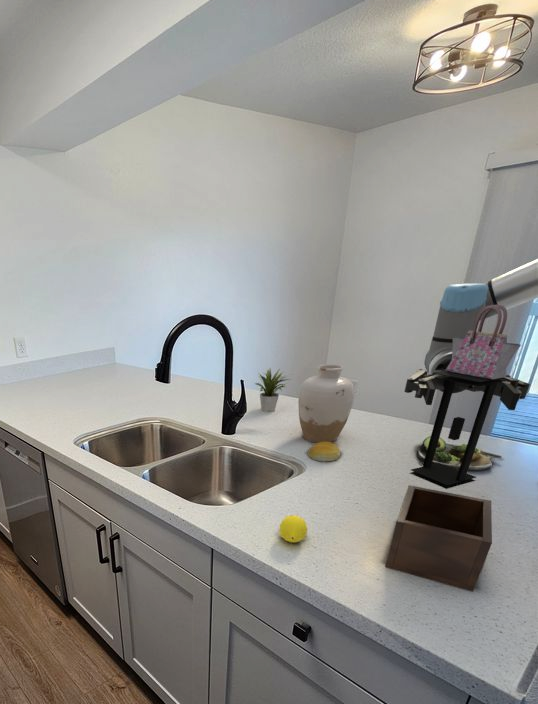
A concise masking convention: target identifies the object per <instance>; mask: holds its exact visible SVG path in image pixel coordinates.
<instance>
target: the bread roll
mask: <svg viewBox="0 0 538 704" xmlns="http://www.w3.org/2000/svg"><path fill="white" fill-rule="evenodd" d="M307 454H308V456H309V458H310V459H312V460H314V461H317V462H325V463H326V462H333V461H337V460H338V459H339V458H340V456H341V450H340V448H339V446H338V445H336V444H335V443H334V442H319V443H317V442H316V443H315V444H314V445H312V447H311V448H310V449H309V450H308V453H307Z"/></svg>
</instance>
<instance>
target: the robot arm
mask: <svg viewBox="0 0 538 704" xmlns="http://www.w3.org/2000/svg"><path fill="white" fill-rule="evenodd" d="M535 299H538V258H537V259H534V260H533V261H529V262H527V263H526V264H523V265H520V266H519V267H517V268H515V269H512V270H510V271H508V272H505V273H504V274H501V275H499V276H496V277H494V278H493V279H490V280H488V281H486V282H482V283H456V284H450V285H447V286H446V287H445V289H444V292H443V294H442V298H441V300H440V301H439V308H438V309H439V310H438V313H437V317H436V323H435V327H434V331H433V336H432V338H431V340H430V341H431V342H430V345H429V349H428V351H427V352H426V353H425V357H424V361H423V362H424V363H423V364H424V366H425V367H424V368H425V369H423V368H418V369H417V370H416V372H415V373H414V374H412V375H411V376H409V377H407V379H406V383H405V387H404V393H406V394H411V393H413V392H415V394H414V398H416V399H422V398H423V399H424V403H425V405H426V406H432V404H433V401H434V398H435V393H436V390H438V391H440V392H442V393H443V391H444V387H445V384H446V380H444V379H439V378H435V377H439V376H444V375H440V374H436V373H440V372H446V369H447V367H448V366H449V364H450V362H451V360H452V350H453V338H456V337H462V338H465V337H466V335H467V333H468V331H473V328H474V325H475V321H476V319H477V317H478V315H479V313H480V312H481V310H482V309H483V308H485V307H487V306H490V305H502V306H504V307H505V308H506V310H507V311H508V310H510V309H513V308H515V307H519V306H521V305H523V304H525V303H528V302H531V301H534V300H535ZM500 310H501V309H500ZM485 312H486V311H485ZM485 312H484V313H485ZM484 313H483V314H482V316H481V318H480V320H479V323H478V326H477V328H479V325H480V322H481V319H482V317H483V315H484ZM501 313H503V311H502V310H501ZM496 315H498V313H497V311H496V310H495V309H492V310H491V311H489V313H488V314H487V316H486V318H485V320H486V319H489V318H491V317H493V316H496ZM502 379H508V380H510V381H505V382H500V383H497V385H496V388H495V391H494V394H493V396H496V397H499V400H500V402H501V403H502V404H503V405H504V407H505V408H506V409H507V410H508V411H515V410H516V407H517V405H518V402H519V401H520V400H524V399H526V397H527V394H528V391H529V389H530V386H531V384H530V383H529V382H526V381H523V380H520V379H519V378H518V379H517V378H516V377H515V378H514V377H513V376H511V377H506V378H502ZM485 388H486V385H484V386H479V387H478V386H473V385H468V384H464V383H459V382H455V386H454V389H453V392H452V394H458V393H461V392H464V391H469V392H473V393H475V392H482V393H484V391H485Z"/></svg>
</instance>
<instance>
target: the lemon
mask: <svg viewBox="0 0 538 704" xmlns="http://www.w3.org/2000/svg"><path fill="white" fill-rule="evenodd" d="M279 533H280V537H282V539H284V540H285V542H289V543H298V542H300V541H303V540H304V538H305V537H306V536H307V533H308V526H307V522H306V521H305V520H304V518H302V517H300V516H298V515H295V514H294V515H287V516H286V517H285V518H283V519H282V520H281V523H280V524H279Z"/></svg>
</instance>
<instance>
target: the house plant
mask: <svg viewBox="0 0 538 704" xmlns="http://www.w3.org/2000/svg"><path fill="white" fill-rule="evenodd" d="M280 370H281V368H279V369H277V371H276V372H275V373H274V375H273V377H272V370H271V368H269V369H267V371H266V373H265V372H263V374H264V375H265V376H264V375H262V374H261V373H259V372H257V373H258V375H259V376H258V378H259V379H260V380H261V382H262V384H261V383H259V382H255V383H254V385H257V386H259V387H260V391H259V392H260V394H259V398H260V399H259V400H260V409H261V410H260V411H261V412H264V413H273V412H275V411H276V408H277V405H278V404H277V403H278V400H279V396H280V394H279V393H278V392H277V391H278V390H280V392H283V388H286V387H287V384H286V383H281V382H285V381H290V380H291V378H286V377H288V374H286V375H283V374H284V373H285V372H286V371H282V372H280ZM279 372H280V373H279ZM282 375H283V376H282ZM292 375H293V374H290V376H292ZM285 378H286V379H285ZM262 391H263V392H262Z"/></svg>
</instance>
